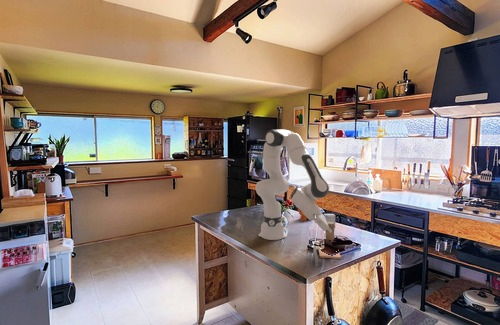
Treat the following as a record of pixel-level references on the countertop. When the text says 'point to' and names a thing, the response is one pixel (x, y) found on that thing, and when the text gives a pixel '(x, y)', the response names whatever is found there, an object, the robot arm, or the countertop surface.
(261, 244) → the countertop surface
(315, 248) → the acrylic wall
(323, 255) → the pad
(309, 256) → the countertop surface
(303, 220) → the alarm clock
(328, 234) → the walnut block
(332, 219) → the medicine box
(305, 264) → the countertop surface
